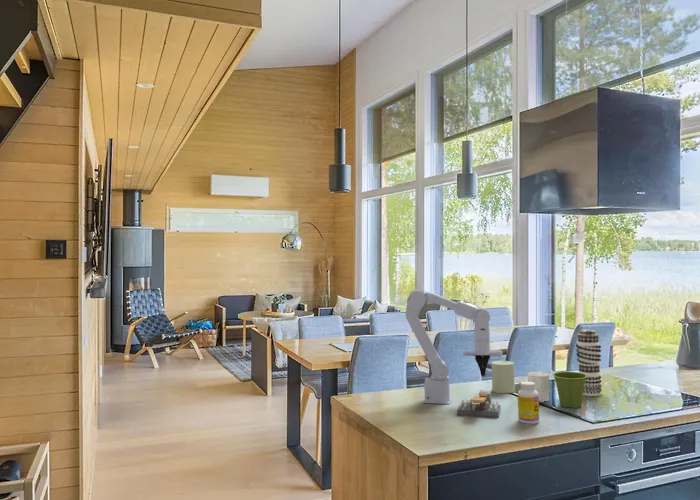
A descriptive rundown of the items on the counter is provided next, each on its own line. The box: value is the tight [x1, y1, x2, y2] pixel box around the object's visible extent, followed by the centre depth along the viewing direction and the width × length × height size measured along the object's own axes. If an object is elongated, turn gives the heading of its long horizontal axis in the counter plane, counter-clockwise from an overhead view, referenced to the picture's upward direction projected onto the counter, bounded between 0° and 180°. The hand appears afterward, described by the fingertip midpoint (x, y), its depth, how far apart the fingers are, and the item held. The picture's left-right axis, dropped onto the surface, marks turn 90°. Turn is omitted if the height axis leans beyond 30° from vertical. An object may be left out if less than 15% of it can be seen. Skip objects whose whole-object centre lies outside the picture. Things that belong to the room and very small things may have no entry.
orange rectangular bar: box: [469, 396, 487, 404], centre depth 201 cm, size 4×16×2 cm, turn 161°
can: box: [490, 360, 516, 394], centre depth 233 cm, size 9×9×12 cm
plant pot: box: [552, 371, 587, 409], centre depth 207 cm, size 12×12×11 cm
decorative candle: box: [575, 328, 603, 397], centre depth 224 cm, size 9×9×25 cm
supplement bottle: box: [517, 381, 540, 425], centre depth 189 cm, size 7×7×13 cm
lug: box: [478, 389, 492, 405], centre depth 209 cm, size 4×5×5 cm
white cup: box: [527, 371, 550, 403], centre depth 216 cm, size 8×8×10 cm
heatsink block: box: [456, 399, 502, 419], centre depth 201 cm, size 14×10×4 cm
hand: (483, 375), depth 217 cm, fingers closed
